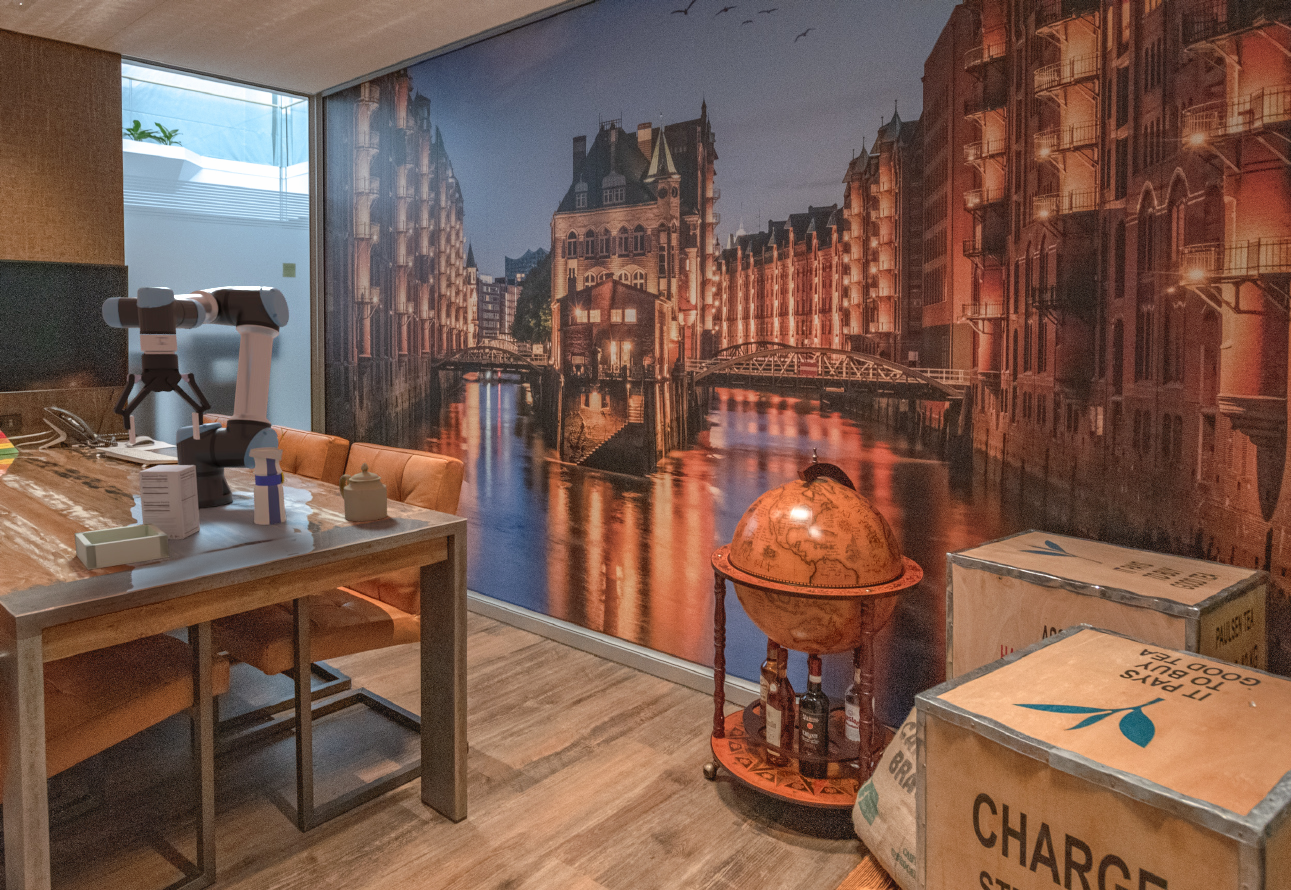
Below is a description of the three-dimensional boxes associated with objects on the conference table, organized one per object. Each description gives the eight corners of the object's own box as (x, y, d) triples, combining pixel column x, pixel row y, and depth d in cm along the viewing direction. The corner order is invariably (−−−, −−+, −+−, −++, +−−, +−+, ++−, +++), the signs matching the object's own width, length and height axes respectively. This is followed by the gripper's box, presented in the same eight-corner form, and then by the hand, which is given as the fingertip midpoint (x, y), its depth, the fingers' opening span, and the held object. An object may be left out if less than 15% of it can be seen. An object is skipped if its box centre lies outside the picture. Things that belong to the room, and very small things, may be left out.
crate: (153, 543, 190) (151, 523, 189) (169, 556, 179) (167, 535, 178) (76, 555, 180) (74, 533, 179) (88, 569, 169) (86, 546, 168)
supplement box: (163, 530, 203) (158, 464, 200) (201, 530, 203) (196, 464, 201) (142, 540, 193) (137, 471, 191) (182, 539, 194) (178, 470, 192)
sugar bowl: (323, 520, 215) (321, 465, 213) (343, 511, 226) (341, 458, 224) (376, 522, 214) (374, 466, 212) (394, 513, 225) (392, 460, 223)
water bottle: (280, 516, 220) (275, 425, 216) (292, 521, 214) (287, 427, 210) (248, 520, 214) (243, 427, 211) (260, 526, 208) (254, 430, 204)
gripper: (100, 353, 181) (107, 446, 184) (221, 353, 198) (226, 438, 201) (94, 352, 187) (101, 443, 189) (212, 352, 203) (217, 435, 206)
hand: (165, 441), depth 195 cm, fingers open, 13 cm apart
